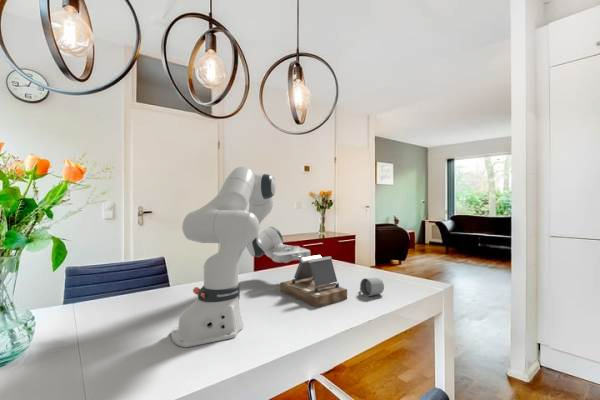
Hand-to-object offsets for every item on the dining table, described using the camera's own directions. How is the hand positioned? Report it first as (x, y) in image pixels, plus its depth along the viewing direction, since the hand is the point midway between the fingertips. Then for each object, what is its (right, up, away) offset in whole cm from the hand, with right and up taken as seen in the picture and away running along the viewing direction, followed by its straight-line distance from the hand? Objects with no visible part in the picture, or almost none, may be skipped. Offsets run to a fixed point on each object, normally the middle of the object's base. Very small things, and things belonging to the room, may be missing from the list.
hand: (301, 258), depth 143 cm
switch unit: (+5, -14, -9) cm, 18 cm away
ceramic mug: (+31, -15, -9) cm, 35 cm away
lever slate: (+11, -9, -15) cm, 21 cm away
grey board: (+1, -9, -2) cm, 9 cm away
